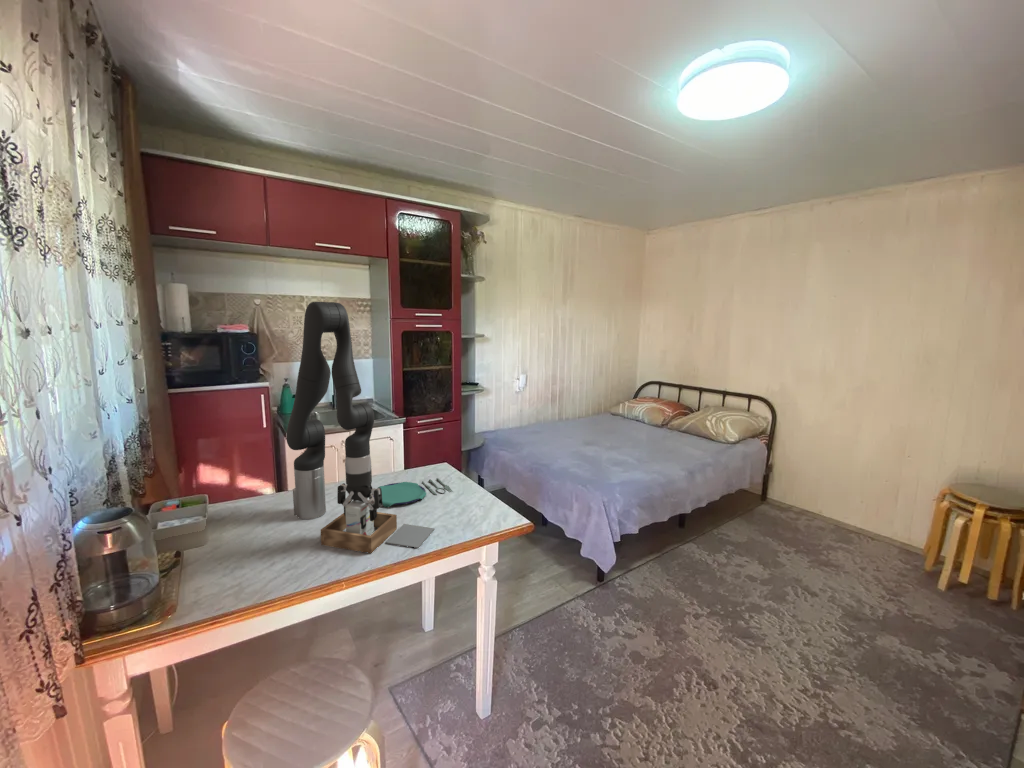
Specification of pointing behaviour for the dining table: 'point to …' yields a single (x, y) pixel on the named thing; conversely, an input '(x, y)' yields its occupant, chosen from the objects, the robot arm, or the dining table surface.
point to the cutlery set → (406, 492)
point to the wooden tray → (358, 542)
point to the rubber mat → (410, 535)
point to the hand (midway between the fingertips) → (360, 518)
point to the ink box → (358, 518)
